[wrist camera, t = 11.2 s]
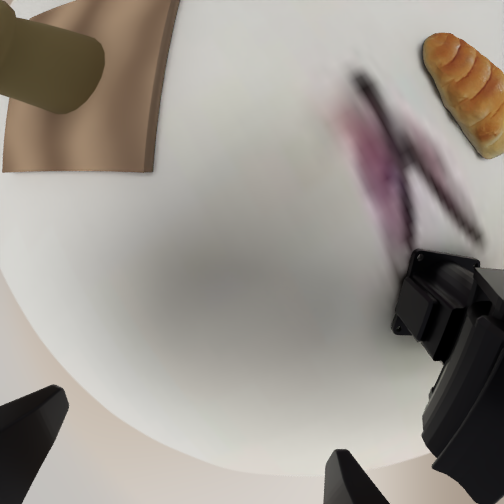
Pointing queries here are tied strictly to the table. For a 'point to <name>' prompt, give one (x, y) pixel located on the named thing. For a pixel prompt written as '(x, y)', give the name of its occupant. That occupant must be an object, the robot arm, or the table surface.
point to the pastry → (468, 90)
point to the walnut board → (100, 94)
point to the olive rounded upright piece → (47, 63)
